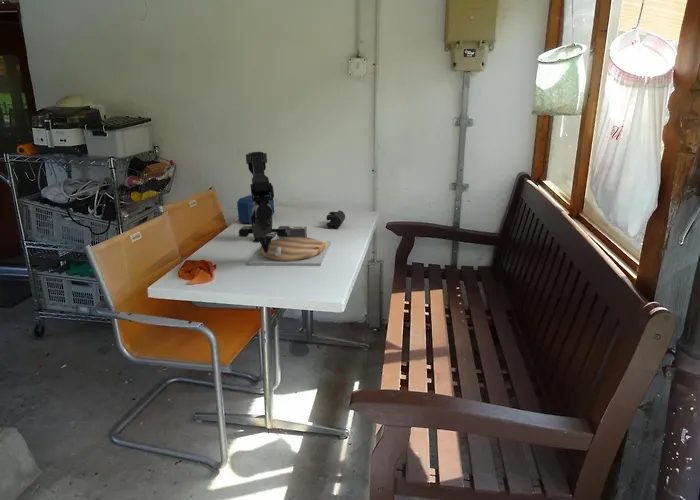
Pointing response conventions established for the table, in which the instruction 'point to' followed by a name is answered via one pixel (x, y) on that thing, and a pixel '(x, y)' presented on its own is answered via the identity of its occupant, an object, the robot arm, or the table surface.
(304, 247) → the round wooden board
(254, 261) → the base plate
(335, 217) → the end cap
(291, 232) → the steel link block
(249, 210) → the radio
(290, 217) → the table surface
